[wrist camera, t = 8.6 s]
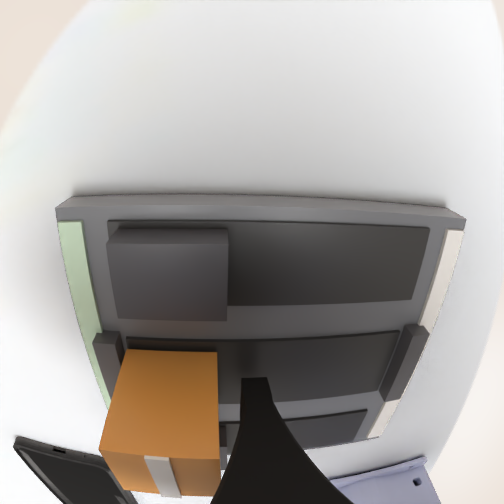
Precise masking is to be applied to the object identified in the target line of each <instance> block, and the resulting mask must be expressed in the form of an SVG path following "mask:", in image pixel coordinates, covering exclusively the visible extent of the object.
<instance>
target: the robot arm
mask: <svg viewBox="0 0 504 504" xmlns="http://www.w3.org/2000/svg"><path fill="white" fill-rule="evenodd" d="M426 462H427V458H426V457H421V458H418V459H415V460H411V461H408V462H405V463H402V464H398V465H395V466H391V467H387V468H384V469H380V470H376V471H372V472H368V473H363V474H359V475H354V476H350V477H345V478H340V479H334V480H328V479H327V478H326V477H325V476H324V475H323V473H322V472H321V471H320V470H319V469H318V468H317V467H316V465H315V464H314V463H313V462H312V461H311V459H310V458H309V457H308V456H307V454H306V453H305V452H304V450H303V449H302V448H301V446H300V445H299V443H298V442H297V441H296V439H295V438H294V436H293V435H292V433H291V432H290V430H289V428H288V427H287V425H286V424H285V422H284V420H283V419H282V417H281V415H280V413H279V412H278V410H277V408H276V406H275V404H274V402H273V400H272V393H271V390H270V386H269V382H268V379H267V377H254V378H241V397H240V425H239V430H238V434H237V437H236V440H235V444H234V447H233V450H232V453H231V456H230V459H229V462H228V465H227V467H226V470H225V472H224V475H223V477H222V479H221V482H220V484H219V486H218V488H217V491H216V493H215V495H214V497H213V499H212V501H211V503H210V504H441V502H440V500H439V498H438V496H437V493H436V491H435V489H434V487H433V485H432V482H431V480H430V478H429V476H428V474H427V472H426V469H425V467H424V464H425V463H426Z"/></svg>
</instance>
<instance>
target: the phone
mask: <svg viewBox="0 0 504 504" xmlns="http://www.w3.org/2000/svg"><path fill="white" fill-rule="evenodd" d="M13 448H14V450H15V451H16V452H17V454H18V455H19V456H20V457H21V458H22V460H23V461H24V462H25V463H26V464H27V466H28V467H29V468H30V469H31V470H32V471H33V472H34V474H35V475H36V476H37V477H38V478H39V479H40V480H41V481H42V482H43V483H44V484H45V486H46V487H47V488H48V489H49V490H50V491H51V492H52V493H53V494H54V495H55V496H56V497H57V498H58V499H59V500H60V501H61V502H62V503H63V504H138V503H137V501H136V500H135V498H134V497H133V495H132V493H131V492H130V490H124V489H123V488H122V486H121V485H120V483H119V482H118V480H117V479H116V477H115V476H114V474H113V472H112V471H111V469H110V468H109V466H108V464H107V463H106V461H105V459H104V458H103V457H100V456H96V455H92V454H87V453H82V452H77V451H73V450H68V449H64V448H60V447H56V446H52V445H48V444H45V443H41V442H37V441H34V440H31V439H27V438H24V437H17V438H16V440H15V443H14V445H13ZM54 448H55V449H59V450H63V451H66V453H65V454H64V453H60V452H56V451H53V450H54ZM84 455H85V457H84Z"/></svg>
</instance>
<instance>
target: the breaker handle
mask: <svg viewBox="0 0 504 504" xmlns="http://www.w3.org/2000/svg"><path fill="white" fill-rule="evenodd" d="M99 451H100V453H101V454H102V456H103V458H104V459H105V461H106V463H107V464H108V466H109V468H110V469H111V471H112V472H113V474H114V476H115V477H116V479H117V480H118V482H119V483H120V485H121V486H122V488H123V489H124V490H130V491H138V492H146V493H156V494H161V496H162V497H171V498H182V495H183V496H214V495H215V493H216V491H217V488H218V486H219V484H220V482H221V467H220V441H219V408H218V371H217V352H181V351H154V350H136V349H126V353H125V356H124V359H123V362H122V365H121V369H120V372H119V375H118V379H117V382H116V385H115V389H114V392H113V396H112V399H111V403H110V407H109V410H108V414H107V418H106V421H105V425H104V429H103V433H102V437H101V441H100V445H99Z"/></svg>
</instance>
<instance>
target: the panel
mask: <svg viewBox="0 0 504 504" xmlns="http://www.w3.org/2000/svg"><path fill="white" fill-rule="evenodd" d="M55 210H56V218H57V225H58V231H59V237H60V243H61V249H62V254H63V260H64V265H65V270H66V274H67V279H68V284H69V288H70V292H71V296H72V301H73V305H74V308H75V312H76V316H77V320H78V323H79V327H80V330H81V334H82V337H83V341H84V344H85V347H86V350H87V353H88V356H89V360H90V363H91V366H92V368H93V371H94V374H95V377H96V380H97V383H98V385H99V388H100V391H101V393H102V396H103V399H104V401H105V404H106V406H107V409H108V410H109V407H110V403H111V399H112V396H113V392H114V389H115V385H116V382H117V379H118V375H119V372H120V369H121V365H122V362H123V359H124V356H125V353H126V349H136V350H154V351H181V352H217V371H218V408H219V441H220V467H221V470H226V467H227V455H231V453H232V450H233V447H234V444H235V440H236V437H237V434H238V430H239V425H240V397H241V378H254V377H267V379H268V382H269V386H270V390H271V393H272V400H273V402H274V404H275V406H276V408H277V410H278V412H279V413H280V415H281V417H282V419H283V420H284V422H285V424H286V425H287V427H288V428H289V430H290V432H291V433H292V435H293V436H294V438H295V439H296V441H297V442H298V443H299V445H300V446H301V448H302V449H303V450H307V449H315V448H323V447H329V446H336V445H342V444H348V443H353V442H358V441H363V440H368V439H373V438H378V437H379V436H381V434H382V432H383V431H384V429H385V427H386V426H387V424H388V422H389V420H390V419H391V417H392V415H393V413H394V411H395V409H396V408H397V406H398V404H399V402H400V400H401V398H402V396H403V394H404V392H405V390H406V388H407V386H408V384H409V382H410V380H411V378H412V376H413V374H414V372H415V370H416V367H417V365H418V363H419V361H420V359H421V356H422V354H423V352H424V349H425V347H426V345H427V342H428V340H429V338H430V335H431V333H432V330H433V328H434V325H435V323H436V320H437V317H438V315H439V312H440V309H441V307H442V304H443V301H444V298H445V295H446V292H447V289H448V286H449V283H450V280H451V277H452V274H453V271H454V267H455V264H456V261H457V257H458V254H459V250H460V247H461V243H462V239H463V235H464V226H465V222H466V218H464V217H462V216H460V215H459V214H457V213H455V212H453V211H451V210H450V209H448V208H441V207H432V206H422V205H411V204H400V203H389V202H377V201H363V200H349V199H333V198H315V197H294V196H269V195H231V194H138V195H101V196H77V197H70V198H69V199H67V200H66V201H64V202H63V203H61V204H60V205H59V206H57V207H56V208H55Z"/></svg>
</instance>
